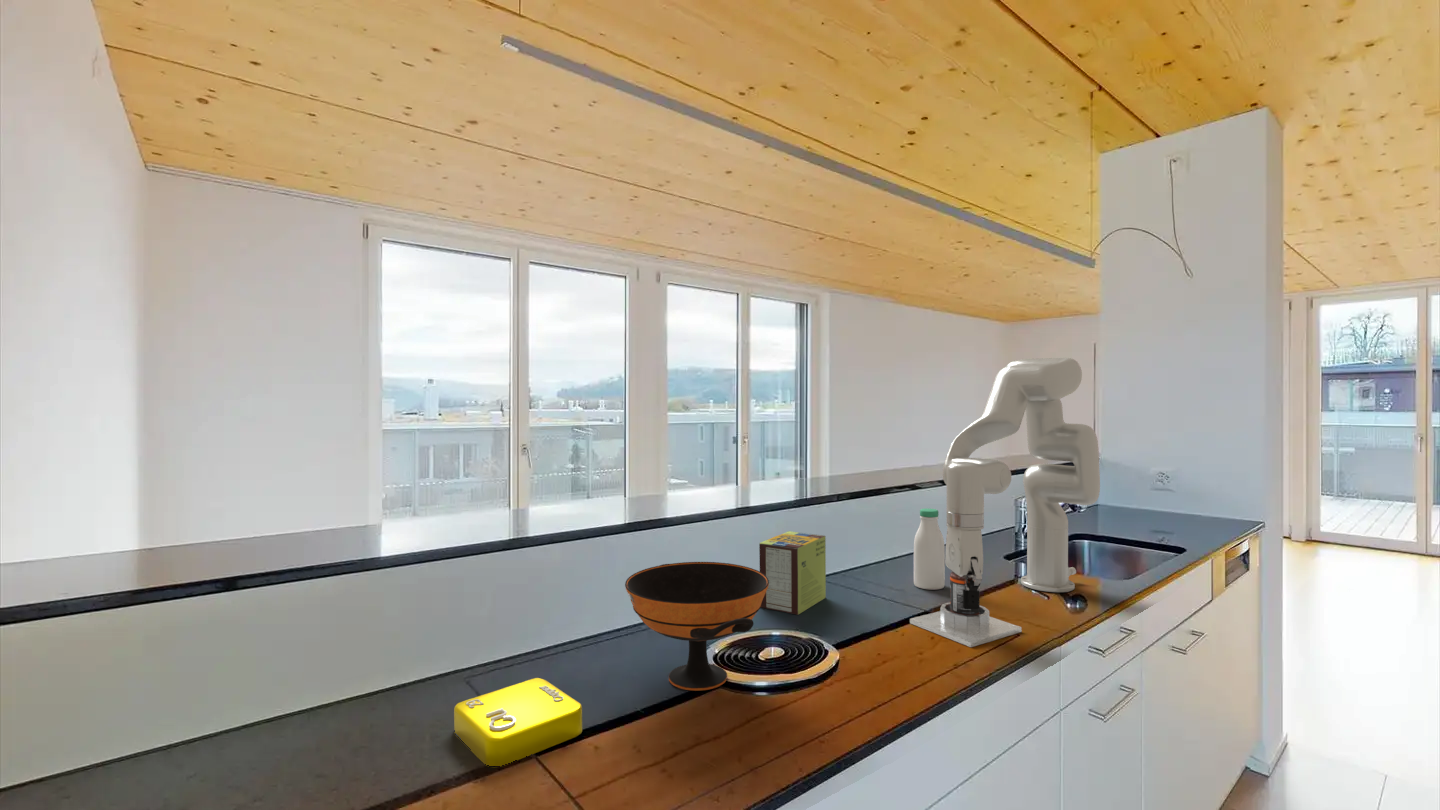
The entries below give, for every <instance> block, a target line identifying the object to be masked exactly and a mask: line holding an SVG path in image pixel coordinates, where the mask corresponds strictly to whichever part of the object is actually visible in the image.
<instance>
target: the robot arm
mask: <svg viewBox="0 0 1440 810" xmlns="http://www.w3.org/2000/svg"><path fill="white" fill-rule="evenodd" d="M1082 378H1083V372H1082V368H1081V365H1080V363H1078V361H1077V360H1076V359H1074V358H1072V357H1053V358H1052V357H1051V358H1025V359H1023V358H1022V359H1016V360H1013V361H1010V362H1009V363H1007V365H1006V366H1004V367H1003V368H1001V369H999V371H998V372H997V373H996V375H995V378H994V380H993V383H992V386H991V389H990V392H989V395H988V398H987V400H986V403H985V406H984V409H983V410H982V411H983V412H982V415H981V416H980V417H979V418H977V419H976V420H975V421H973V422H972V423H971V424H969V425H968V426H966V427H965V428H964V429H963V430H962V431H960V433H959V434H957V436H956V437H955V438H953V441H952V442H951V444H950V446H949V449H948V450H947V451H948V452H947V454H946V457H945V459H944V463H943V465H942V466H943V467H942V479H943V482H944V484H945V485H946V529H947V530H946V538H945V539H946V540H945V567H947V568H948V569H949V570H950V571H951V572H952V571H953V572H954V573H955V574H957V575H958V576H960V577H963V578H964V586H965V590H963V608H964V609H979V601H980V590H981V586H980V585H981V582H982V581H983V576H982V575H983V571H984V548H983V536H982V530H984V528H985V495H998V494H1001V493H1004V492H1005V491H1006V490H1007V489H1008V488H1009V487H1010V485H1011V481H1012V472H1011V469H1010V467H1009V466H1008V465H1007V464H1006V463H1005V462H1003V461H1000V460H998V459H990V458H989V459H988V458H979V457H977V458H976V457H970V456H971V455H972V454H973V453H974V452H975V451H976V450H977V449H979V448H982V447H983V446H985V445H987V444H990V443H994V442H995V441H999V440H1003V439H1005V438H1006V437H1007V438H1008V437H1009V436H1012V435H1014V434H1016V433H1017V432H1018V431H1019V429H1020V427H1021V425H1022V421H1023V418H1024V415H1025V421H1026V437H1027V438H1026V439H1027V447H1028V451H1029V454H1030V455H1031V456H1032V457H1034V458H1035V459H1039V460H1047V461H1057V462H1058V461H1060V462H1071V463H1073V465H1064V464H1053V463H1037V464H1036V463H1035V464H1032V465H1030V466H1029V467H1028V468H1026V470H1025V471H1024V474H1023V477H1022V478H1023V481H1022V482H1023V488H1024V494H1025V501H1026V510H1027V511H1026V513H1027V515H1026V516H1027V517H1026V519H1027V522H1026V526H1027V527H1026V529H1027V530H1026V531H1027V532H1026V535H1027V537H1026V545H1027V547H1026V550H1027V551H1026V557H1027V558H1026V575H1022V576H1021V578H1020V584H1021V585H1022V586H1024V587H1026V588H1028V589H1031V590H1036V591H1041V592H1047V593H1048V592H1049V593H1068V592H1073V590H1075V589H1076V587H1075V586H1076V585H1075V582H1073V581H1071V580H1070V578H1069V577H1070V576H1072V575H1076V574H1077V570H1076V568H1075V567H1073V566H1072V567H1069V519H1068V516H1067V513H1066V511H1065V510H1064V509H1063V507H1062V505H1060V504H1061V503H1062V504H1068V505H1069V504H1070V505H1077V506H1079V505H1080V506H1091V505H1094V504H1095V503H1096V502H1097V501H1098V499H1099V497H1100V490H1101V479H1100V478H1101V477H1100V474H1101V473H1100V457H1099V456H1100V455H1099V453H1100V452H1099V441H1098V436H1097V433H1096V432H1095V430H1094V428H1092V427H1091V426H1090V425H1087V424H1083V423H1066V422H1065V421H1064V413H1063V412H1064V411H1063V403H1062V401H1061V399H1064V398H1065V397H1067V396H1070V395H1071V394H1073V393H1075V392H1076V391H1077V390H1078V388H1079V387H1080V385H1081V383H1082V380H1083V379H1082ZM968 572H972V573H973V575H967V573H968ZM968 578H973V580H970V582H968Z"/></svg>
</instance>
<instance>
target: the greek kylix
mask: <svg viewBox="0 0 1440 810" xmlns="http://www.w3.org/2000/svg"><path fill="white" fill-rule="evenodd" d="M768 586H769V580H768V578H767V576H766V575H764V574H763V573H761V572H760V570H757V569H754V568H753V567H748V566H745V565H741V564H734V563H729V562H728V563H726V562H715V561H686V562H685V561H684V562H674V563H663V564H660V565H656V566H651V567H648V568H645V569H642V570H639V571H637V572H634V573H633V574H631V575H630V576H628V577H627V579H626V581H625V582H624V587H625V590H626V593H627V595H628V597H629V600H630V602H631V604H632V608H633V611H634V613H635V614H637V615H638V617H639V618H640V620H641V621H642V623H644V624H645V625H646V626H647V627H648V628H649V629H651V630H652V631H654V632H656V633H658V634H660V635H662V636H665V637H666V638H671V639H675V640H680V641H688V657H687V663H686V664H682V665H680V666H678V667H675V668H674V669H672V670H671V671H670V672H669V673H668V682H669V683H670V684H671V685H673V686H674V687H676V688H678V689H681V690H687V691H692V692H693V691H695V692H696V691H708V690H712V689H716V688H718V687H720V686H722V685H723V684H725V683H726V681H727V680H728V673H727V671H726V670H725V669H724V668H722V667H720V666H719V665H715V664H711V663H709V659H708V652H707V649H708V648H707V644H708V643H707V641H713V640H719V639H722V638H726V637H727V636H730V635H733V634H735V633H746V632H749V631H750V630H752V628H753V626H754V620H753V619H754V617H755V616H756V615H757V613H758V612H759V611H760V609H761V605H762V600H763V598H764V595H765V593H766V591H767V588H768ZM726 679H727V680H726Z"/></svg>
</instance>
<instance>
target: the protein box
mask: <svg viewBox="0 0 1440 810" xmlns="http://www.w3.org/2000/svg"><path fill="white" fill-rule="evenodd" d="M826 539H827V538H826V535H824V534H823V535H822V534H812V533H807V532H805V533H804V532H797V531H790V530H789V531H786V532H783V533H781V534H778V535H775V536H773V537H771V538H769V539H766V540H763V541H761V542H759V548H758V549H759V571H760V572H761V573H763V574H764V575H766V576H767V578H768V580H769V586H768V588H767V591H766V593H765V595H764V598H763V600H762V605H761V608H763V609H767V610H772V611H776V612H781V613H782V612H783V613H786V614H792V615H795V616H797V615H800V614H802V613H803V612H806V610H808V609H810V608H811V607H813V606H814V605H816V604H819V602H821V601H823V600H824V599H826V594H827V593H826V590H827V589H826V586H827V584H826V582H827V581H826V580H827V579H826V578H827V577H826V576H827V575H826V573H827V571H826V569H827V568H826V566H827V564H826V563H827V561H826V560H827V558H826V556H827V555H826V548H827V547H826V541H827V540H826ZM761 608H760V609H761Z"/></svg>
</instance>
